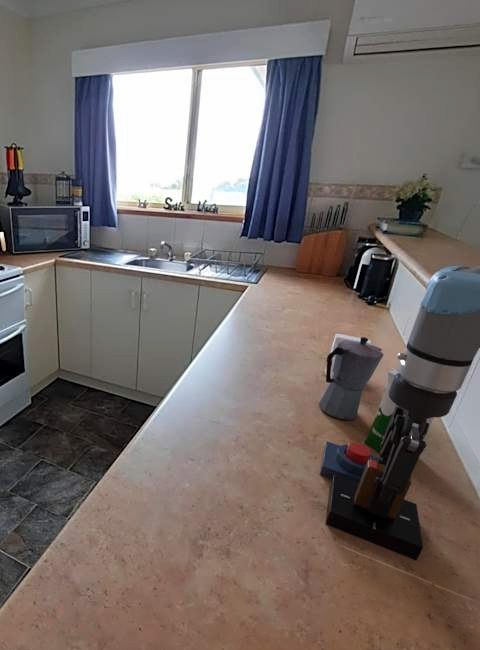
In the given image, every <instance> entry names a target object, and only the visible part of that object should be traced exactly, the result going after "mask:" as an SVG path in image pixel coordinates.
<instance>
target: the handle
mask: <svg viewBox="0 0 480 650" xmlns="http://www.w3.org/2000/svg"><path fill="white" fill-rule="evenodd" d="M385 467H386V465H383V464H380V463H377V462H376V461H373V460H368V462H367V465H366V467H365V470H364V472H363V475H362V478H361V480H360V483H359V486H358V488H357V491H356V493H355V500H354V504H356V505H358V506H361V507H364V508H366V509H367V507H368V504H369V502H370V500H371V497H372V495H373V492H374V490H375V487H376V485H377V482H375V479H376V476H377V477H380V478H382V476H383V473H384V470H385ZM412 482H413V481H412V475H411V476H410V478H409V480H408V483H407V485H406V487H405V489H404V492H403V494H400V493H397V494H396V497H395V499H394V501H393V504H392V506H391V508H390V511H389V513H388V515H387V516H388V517H391V518H393V519H395V518H396V516H397V514H398V512H399V509H400V507H401V505H402V503H403V500H405V499H406V496H407V494H408V491H409V489H410V487H411V485H412Z"/></svg>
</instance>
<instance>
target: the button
mask: <svg viewBox="0 0 480 650" xmlns="http://www.w3.org/2000/svg"><path fill="white" fill-rule="evenodd" d="M347 445H348V448H347V451H346V456H347V458H349V459H350V460H352V461H354V462H356V463H359V464H367V462H368V460H369V459H370V456H371V453H372V450H371V449H370V448H369V446H366V445H364V444H362V443H359V442H350V443H348V444H347Z"/></svg>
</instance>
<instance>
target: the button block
mask: <svg viewBox="0 0 480 650" xmlns="http://www.w3.org/2000/svg"><path fill="white" fill-rule="evenodd" d="M348 445H349V444H346V443H345V444H342V445H340V444H336V443H333V442H330V441H328V440H327V441H326V442H325V445H324V447H323V451H322V458H321V463H320V471H319V475H320V476H323V477H325V478H328V479H331V480H332V479H333V476H334V475H336V476H339V477H341V478H344V479H347V480H350V481H353V482H356V483H358V484H359V483H360V480H361V478H362V475H363V472H364V470H365V467H366V465H367V464H359V463H356V462H354V461H352V460H350V459H349V458H347V456H346V451H347V448H348ZM378 459H381V457H377V456H375V455H374V454H373V453H372V452H371V456H370V459H369V460H373V461H376V462H377V461H378Z"/></svg>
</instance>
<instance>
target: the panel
mask: <svg viewBox="0 0 480 650" xmlns="http://www.w3.org/2000/svg"><path fill="white" fill-rule="evenodd" d="M358 486H359V484H358V483H356V482H353V481H350V480H347V479H344V478H341V477H339V476H336V475H334V476H333V479H331V483H330V485H329V490H328V500H327V507H326V515H325V526H329V527H331V528H334V529H336V530H339V531H341V532H344V533H346V534H348V535H351V536H354V537H356V538H358V539H361V540H364V541H366V542H369V543H371V544H374V545H376V546H378V547H381V548H383V549H386V550H389V551H391V552H393V553H396V554H399V555H401V556H403V557H406V558H409V559H410V560H413V561H417V560H418V558H419V556H420V555H421V552H422V551H423V549H424V545H423V539H422V531H421V525H420V518H419V511H418V505H417V503H415V502H412V501H409V500H406V499H404V500H403V503H402V505H401V507H400V509H399V512H398V514H397V516H396V518H395V519H393V518H391V517H388V516H387V517H386V518H384V517H382V516H379V515H376V514H373V513H371V512H368V511H367V509H366V508H364V507H361V506H358V505H356V504H354V500H355V493H356V491H357V488H358Z"/></svg>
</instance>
